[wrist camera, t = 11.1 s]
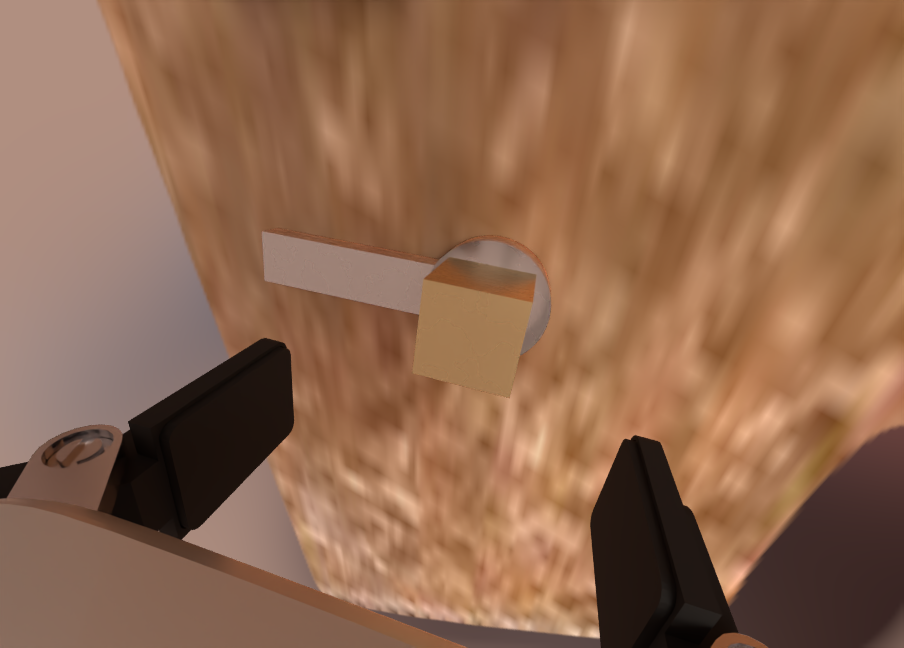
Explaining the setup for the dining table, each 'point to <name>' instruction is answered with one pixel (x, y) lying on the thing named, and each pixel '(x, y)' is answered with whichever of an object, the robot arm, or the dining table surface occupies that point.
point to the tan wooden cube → (473, 325)
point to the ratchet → (392, 270)
